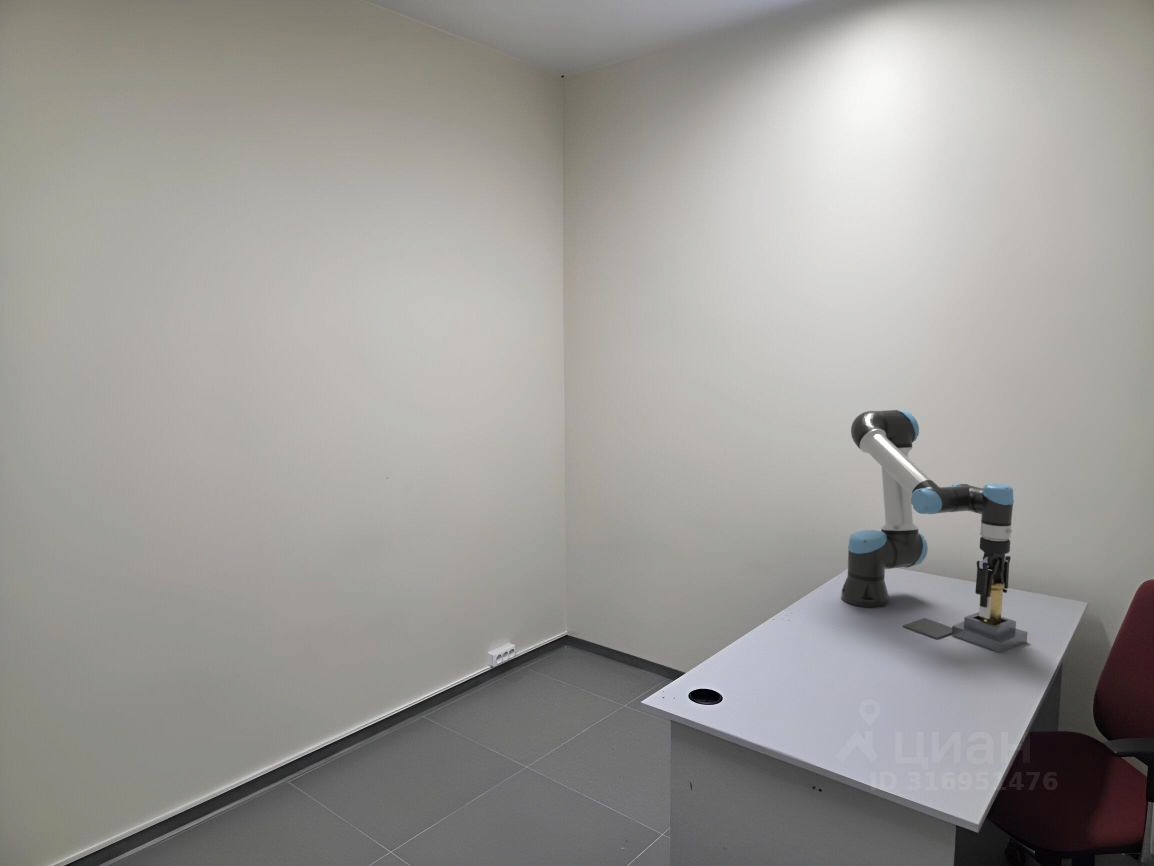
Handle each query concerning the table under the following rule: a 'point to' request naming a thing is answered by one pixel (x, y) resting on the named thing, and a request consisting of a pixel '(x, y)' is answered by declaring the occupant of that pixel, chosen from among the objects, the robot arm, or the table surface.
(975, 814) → the table surface
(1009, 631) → the housing
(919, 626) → the mat
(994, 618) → the brass flared knob
